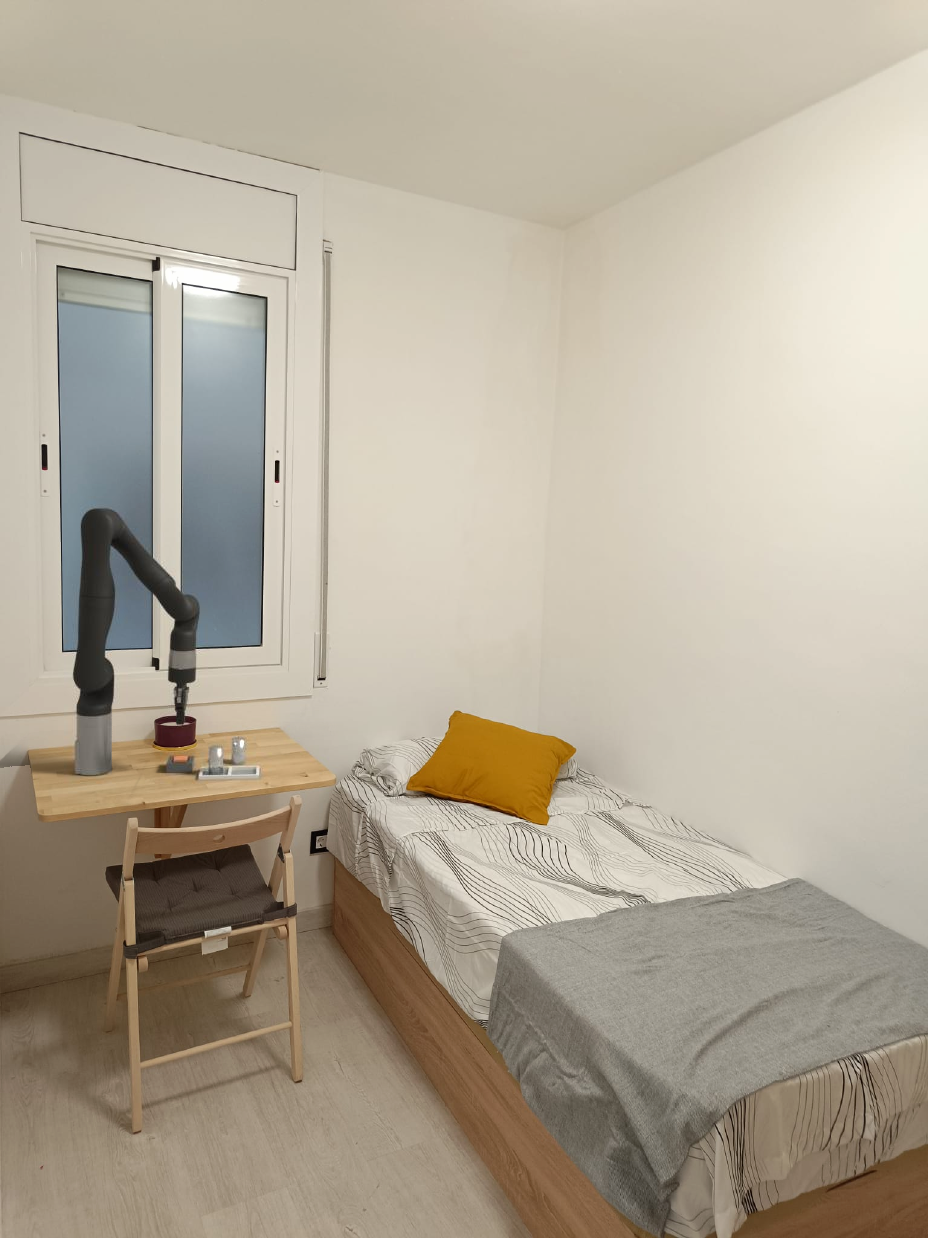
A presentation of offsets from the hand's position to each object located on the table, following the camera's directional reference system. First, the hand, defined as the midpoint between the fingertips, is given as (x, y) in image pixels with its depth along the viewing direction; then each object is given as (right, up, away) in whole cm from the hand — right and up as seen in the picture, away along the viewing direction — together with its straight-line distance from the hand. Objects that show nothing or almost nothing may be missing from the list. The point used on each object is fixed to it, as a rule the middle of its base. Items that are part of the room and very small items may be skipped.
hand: (180, 724), depth 240 cm
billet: (+14, -14, +10) cm, 22 cm away
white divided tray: (+14, -16, 0) cm, 21 cm away
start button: (-1, -12, +2) cm, 13 cm away
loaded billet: (+11, -14, -1) cm, 18 cm away
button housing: (-1, -15, +2) cm, 15 cm away
